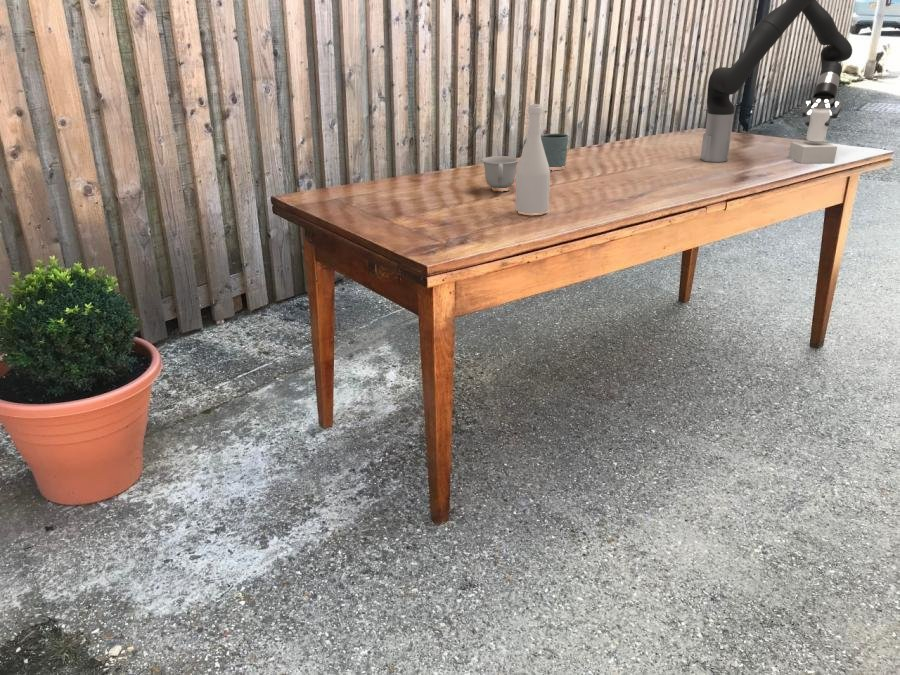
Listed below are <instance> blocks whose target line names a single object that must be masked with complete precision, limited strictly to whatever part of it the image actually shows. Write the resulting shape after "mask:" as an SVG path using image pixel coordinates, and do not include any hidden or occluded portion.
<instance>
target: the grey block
mask: <svg viewBox="0 0 900 675" xmlns="http://www.w3.org/2000/svg"><path fill="white" fill-rule="evenodd" d="M788 150H789V151H788V155H787V158H788V157H789V158H788V159H790V158H791V160H792V159H793V160H792V161H794V160H795V162H797V163H799V164H801V163H804V164H803V165H805V164H834V163H835V160H836V155H837V151H838V145H835V144H832V143H828V142H825V141H823V142H811V141H807V140H806V141H790V145H789V149H788Z"/></svg>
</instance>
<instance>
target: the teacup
mask: <svg viewBox="0 0 900 675" xmlns="http://www.w3.org/2000/svg"><path fill="white" fill-rule="evenodd" d="M481 161H482V163H483V168H484V175H485V180H486V183H487V185H488V186H490V187H491V188H492V187H493V188H507V187H511V186H512V185H513V184H514V182H515V180H516V170H517V167H518V164H519V161H520V158H517V157H515V156H508V155H507V156H506V155H505V156H504V155H495V156H486V157H484V158H482V159H481Z"/></svg>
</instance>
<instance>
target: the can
mask: <svg viewBox="0 0 900 675" xmlns="http://www.w3.org/2000/svg"><path fill="white" fill-rule="evenodd" d="M830 110H831V109H830V107H828V108H826V106H815V107H813V109H812V111H811V115H810V121H809V126H807V132H806V137H805V139H806V142H807V141H811V142H825V141H826V137H827V133H828V128H829V126H825V123H826V122H828V121H827V120H829V117H830Z"/></svg>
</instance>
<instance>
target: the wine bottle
mask: <svg viewBox="0 0 900 675" xmlns="http://www.w3.org/2000/svg"><path fill="white" fill-rule="evenodd" d="M542 109H543V108H542V105H541V104H540V103H530V104H529V105H528V107H527V113H528V127H527V128H528V129H527V138H526V141H525V144H524V147H523V150H522V153H521V154H520V158H519V161H518V163H517V166H516V173H515V211H516V210H517V211H519V212H524V213H541V212H546V211H548V212H549V209H550V208H549V207H550V206H549V205H550V188H551V185H550V181H551V171H550V169H549V165H548V162H547V158H546V155H545V151H544V148H543V144H542V141H541V135H542V134H541V119H542V118H541V114H542Z"/></svg>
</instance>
